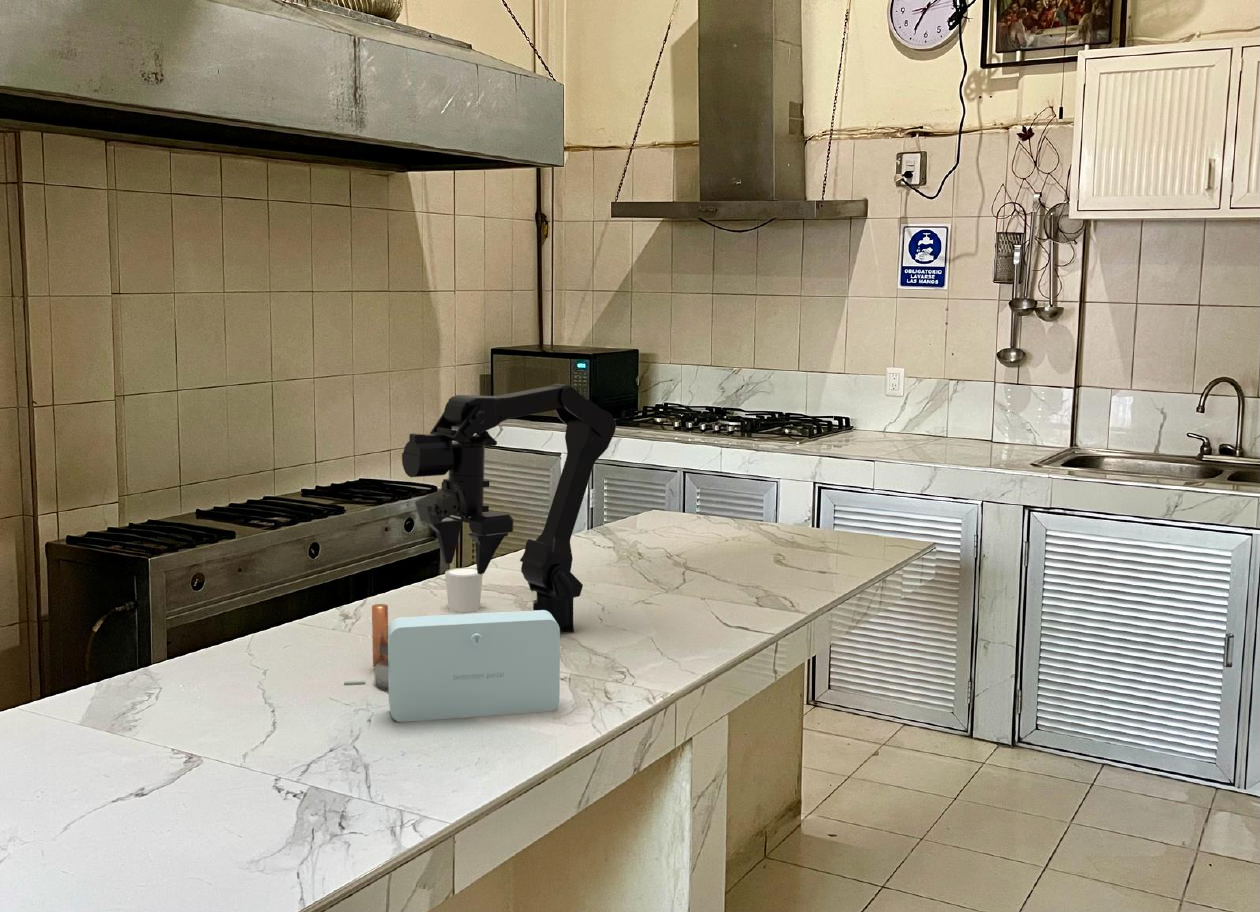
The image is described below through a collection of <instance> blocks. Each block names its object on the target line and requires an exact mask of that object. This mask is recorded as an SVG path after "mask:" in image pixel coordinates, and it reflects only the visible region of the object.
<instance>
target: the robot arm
mask: <svg viewBox="0 0 1260 912" xmlns="http://www.w3.org/2000/svg"><path fill="white" fill-rule="evenodd" d="M550 411H551V412H552V411H554V412H555V414H556V416H557V417H558V419H559V420H560V421H561V422H562V423H563V424H564V425H565V426H566V428H565V429H566V430H565V434H564V440H565V446H566V452H567V454H566V458H565V461H564V465H563V468H562V471H561V474H560V477H559V480H558V483H557V486H556V490H555V492H554V496H553V499H552V503H551V506H550V509H549V512H548V515H547V518H546V521H545V525H544V528H543V531H542V532H541V534H540V535H539V536H538V537H537V538H536V539H535V540H534V539H530V538H529V539H527V540H526V542H525V548H524V552H523V554H522V556H521V558H520V559H519V562H521V568H520V571H521V572H520V573H521V574H522V576H523V578H524V579H525V581H526V582H527V584H528V586H529V590H530V591H531V592H536V599H534V600H533V601H532V602H533V603H532V606H533V608H532V611H535V610H546V611H548V612H549V613H551V615H552V616H553V618H554V619H555V621H556V622H557V624H558V625H559V628H560V633H575V625H574V598H579V597H580V596H581V593H582V591H583V586H584V585H583V583H582V582H581V581H580V580H579V579H578V578H577V577H576V576H575V575H574V574H573V573H572V572H571V571H572V566H573V558H574V557H573V553H572V546H571V538H572V535H573V532H574V529H575V527H576V522H577V519H578V516H579V513H580V510H581V507H582V503H583V500H584V498H585V494H586V490H587V489H588V485H589V481H590V477H591V474H592V472H593V468H594V465H595V463H596V461H597V460H598V459H599V458H600V457H601V456H602V455H603V454H604V453H605V452H606V451H607V450H608V448H609V446H610V444H611V442H612V439H613V437H614V436H615V432H616V429H617V422H616V421H615V419H614V416H613V414H612V413H610V412H609V411H607V410H606V409H605V410H604V409H602V408H600V407H599V406H598V405H597V404H596V403H594V402H592V401H591V400H589V399H588V398H586V397H585V396H583V395H582V394H581V393H580V392H578V391H577V390H576V389H575V388H574V387H573V386H572V385H569V384H562V383H561V384H560V383H553V384H549V385H548V386H543V387H537V388H530V389H526V390H521V391H516V392H510V393H504V394H499V395H477V394H476V395H475V394H455V395H454V396H451V397H450V398H449V399H448V401H447V403H446V404H445V408H444V409H443V413H442V414H441V416H440V417H439V419H438V420H437V421H436V423H435V425H434V427H433V428H432V429H431V431H430V432H429V433H427V434H426V433H424V434H422V433H419V432H418V433H409V440H408V442H407V443H406V444H405V445H404V448H403V452H402V453H401V462H402V463H401V464H402V467H403V470H404V473H405V474H406V475H407V476H408V477H409V478H422V477H424V478H425V477H436V476H437V477H438V476H445V475H446V474H448V478H443V479H442V481H441V487H440V489H439V490H438V491H435V492H432V493H428V494H427V495H426V496H424V497H422V498H420V499H418V500H416V501H415V502H414V504H415V508H416V510H417V514H418V518H419V521H421V522H424V524H425V525H428V526H429V527H430V528H431V529H432V530H433V531H434V532H435V535H436V537H437V540H438V544H439V547H440V550H441V555H442V556H443V560H444V563H445V564H446V565H449V564H452V563H453V560H454V557H455V554H456V549H457V545H458V540H459V536H460V533H461V528H462V524H463V522H464V523H467V524H468V527H469V529H470V531H471V532H470V533H468V536H469V537H470V538H471V540H472V541H474V544H475V545H474V546H475V547H474V548H475V561H476V562H475V563H476V569H477V573H478V574H483V575H484V574H485V573H486V571H487V569H488V567H489V565H490V563H491V561H492V558H493V557H494V555H495V553H496V551H497V550H498V548H499V546H500V544H501V543H502V541H503V540H504V538H505V537H508V536H509V533H513V532H514V518H513V517H512V516H511V515H510V514H508V513H504V512H500V511H497V510H496V511H490V506H489V505H488V504H484V502H485V501H484V500H485V499H484V498H485V497H484V496H485V495H484V494H485V488H489V487H490V480H488V479H485V459H486V457H485V455H486V454H485V451H486V450H485V449H486V447H487V446H494V447H495V446H496V445H498V441H497V440H496V439H494V438H493V437H492V436H491V434H490V433H489V430H491V429H493V428H496V427H497V426H499V425H500V424H501V423H503V422H505V421H507V420H510V419H516V418H520V417H525V416H531V415H536V414H541V413H545V412H550Z"/></svg>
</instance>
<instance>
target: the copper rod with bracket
mask: <svg viewBox="0 0 1260 912" xmlns="http://www.w3.org/2000/svg"><path fill="white" fill-rule="evenodd" d="M388 607H389V605H388V604H385V603H378V604H373V605H372V606H371V629H372V630H371V632H372V633H371V635H372V638H371V639H372V667H373V668H374V669H375V666H376V664H377V663H379V662H380V661H383V660H385V659H388V626H389V608H388Z"/></svg>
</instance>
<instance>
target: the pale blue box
mask: <svg viewBox="0 0 1260 912" xmlns="http://www.w3.org/2000/svg"><path fill="white" fill-rule="evenodd" d="M560 656H561V632H560V628H559V625H558V624H557V622H556V621H555V619H554V618H553V616H552V615H551V613H549V612H548V611H546V610H535V611H533V610H520V611H519V610H517V611H501V612H500V611H499V612H497V611H496V612H481V613H478V612H477V613H464V614H463V613H458V614H444V615H443V614H442V615H441V614H440V615H439V614H438V615H422V616H406V617H405V616H402V617H396V618H394V619H392V620H391V621H389V623H388V680H389V691H388V704H389V709H390V716H391V718H393V720H395V721H396V722H398V723H401V722H402V723H403V722H404V723H405V722H415V721H430V720H431V721H432V720H444V719H458V718H459V719H460V718H470V717H471V718H472V717H473V718H474V717H484V716H485V717H487V716H499V715H511V714H512V715H513V714H525V713H527V714H528V713H541V712H551V711H554V710H555V709H556V708H558V706H559V704H560V688H561V687H560V679H561V678H560V677H561V675H560V674H561V672H560V671H561V670H560V668H561V667H560V666H561V665H560V663H561V661H560V660H561V657H560Z"/></svg>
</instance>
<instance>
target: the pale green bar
mask: <svg viewBox="0 0 1260 912" xmlns="http://www.w3.org/2000/svg"><path fill="white" fill-rule="evenodd" d="M365 684H366V680H344V683H343V685H344V686H350V685H365Z"/></svg>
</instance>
